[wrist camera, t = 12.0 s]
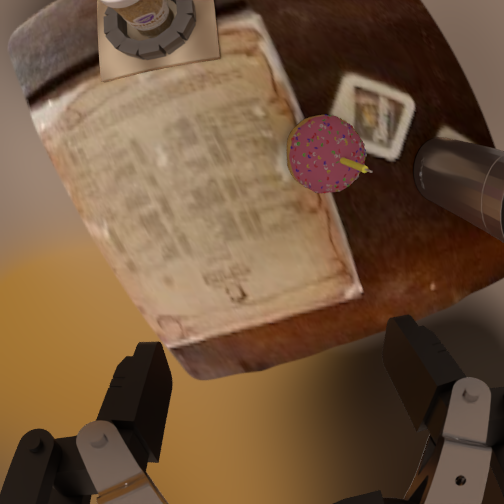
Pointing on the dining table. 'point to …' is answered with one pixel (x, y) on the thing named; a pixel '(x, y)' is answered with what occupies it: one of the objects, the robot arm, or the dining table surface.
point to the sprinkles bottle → (144, 15)
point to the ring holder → (156, 40)
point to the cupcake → (325, 154)
